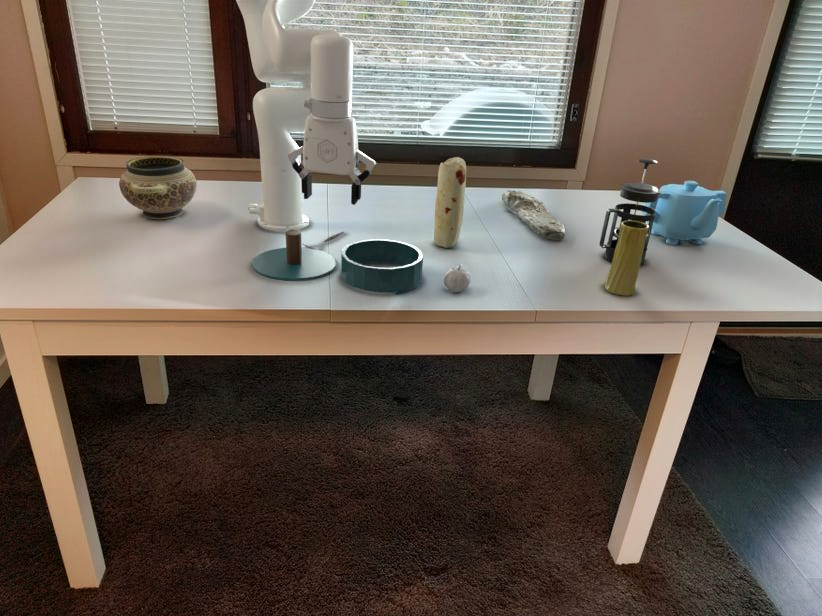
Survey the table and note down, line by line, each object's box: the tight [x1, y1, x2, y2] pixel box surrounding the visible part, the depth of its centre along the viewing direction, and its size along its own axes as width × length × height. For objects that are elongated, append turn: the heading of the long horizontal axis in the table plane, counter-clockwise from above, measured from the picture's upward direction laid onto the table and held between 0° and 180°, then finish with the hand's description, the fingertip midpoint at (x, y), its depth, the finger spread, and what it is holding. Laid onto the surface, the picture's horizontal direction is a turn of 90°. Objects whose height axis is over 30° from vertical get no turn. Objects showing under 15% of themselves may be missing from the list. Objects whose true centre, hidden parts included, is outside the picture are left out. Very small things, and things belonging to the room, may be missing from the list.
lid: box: [251, 229, 337, 282], centre depth 136 cm, size 18×18×8 cm
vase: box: [604, 220, 649, 297], centre depth 132 cm, size 6×6×14 cm
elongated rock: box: [501, 189, 566, 241], centre depth 174 cm, size 35×5×10 cm
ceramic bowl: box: [118, 155, 198, 220], centre depth 160 cm, size 24×18×15 cm
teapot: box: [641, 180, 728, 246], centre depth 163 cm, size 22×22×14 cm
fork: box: [302, 231, 345, 250], centre depth 151 cm, size 3×16×2 cm, turn 152°
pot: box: [340, 238, 424, 295], centre depth 134 cm, size 17×17×6 cm
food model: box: [433, 156, 467, 249], centre depth 150 cm, size 10×7×20 cm
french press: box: [598, 158, 662, 267], centre depth 146 cm, size 12×9×23 cm
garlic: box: [443, 263, 471, 294], centre depth 130 cm, size 6×5×5 cm
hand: (331, 199), depth 129 cm, fingers open, 9 cm apart
